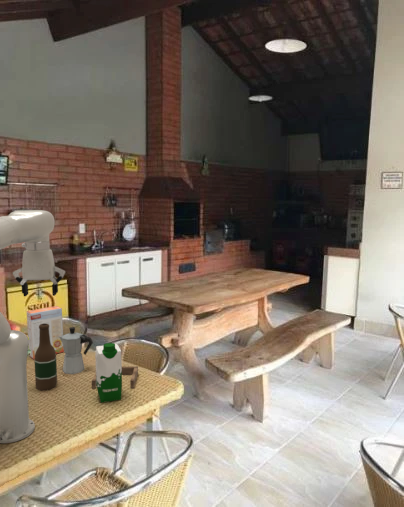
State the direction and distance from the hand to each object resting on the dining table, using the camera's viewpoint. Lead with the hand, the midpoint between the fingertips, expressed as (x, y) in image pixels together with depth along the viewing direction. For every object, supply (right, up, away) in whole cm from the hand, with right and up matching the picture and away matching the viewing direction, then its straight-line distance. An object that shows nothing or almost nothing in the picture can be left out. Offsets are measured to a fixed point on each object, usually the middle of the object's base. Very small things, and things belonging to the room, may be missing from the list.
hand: (40, 295), depth 148 cm
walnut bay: (+23, -35, +17) cm, 45 cm away
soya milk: (+23, -37, +3) cm, 44 cm away
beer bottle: (-2, -36, +11) cm, 37 cm away
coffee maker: (+5, -34, +26) cm, 43 cm away
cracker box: (-14, -31, +44) cm, 55 cm away
